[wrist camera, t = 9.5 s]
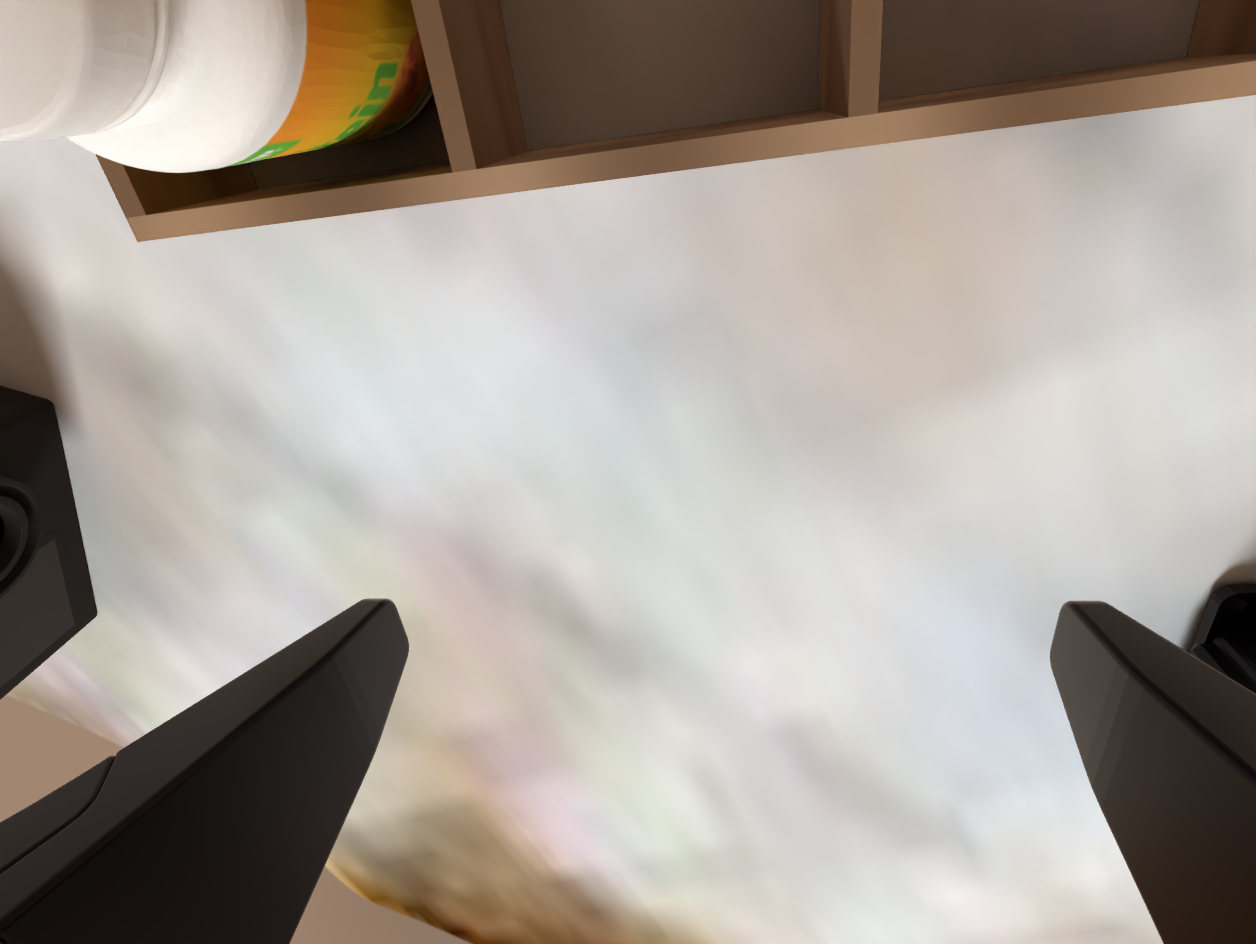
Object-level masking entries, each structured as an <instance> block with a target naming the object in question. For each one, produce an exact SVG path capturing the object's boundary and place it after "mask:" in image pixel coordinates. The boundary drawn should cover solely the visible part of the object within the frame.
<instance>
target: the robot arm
mask: <svg viewBox="0 0 1256 944" xmlns="http://www.w3.org/2000/svg"><path fill="white" fill-rule="evenodd" d="M408 652H409V642H408V638H407V635H406V632H405V630H404V627H403V624H402V621H401V619H400V616H399V613H398V611H397V608H396V606H395V604H394V603H393V602H392V601H391V600H389V599H364V600H361V601H359V602H358V603H356V604H354V605H353V606H351V607H350V608H348V609H346V610H345V611H343V612H342V613H340V614H338V615H337V616H335V617H334V618H332V619H330V620H329V621H327V622H326V623H324V624H322V625H321V626H319V627H318V628H316V629H314V630H313V631H311V632H310V633H308V634H306V635H305V636H303V637H301V638H300V639H298V640H297V641H295V642H293V643H292V644H290V645H289V646H287V647H285V648H284V649H282V650H281V651H279V652H277V653H276V654H274V655H273V656H271V657H269V658H268V659H266V660H265V661H263V662H261V663H260V664H258V665H256V666H255V667H253V668H252V669H250V670H248V671H247V672H245V673H244V674H242V675H240V676H239V677H237V678H236V679H234V680H232V681H231V682H229V683H228V684H226V685H224V686H223V687H221V688H220V689H218V690H216V691H215V692H213V693H212V694H210V695H208V696H207V697H205V698H203V699H202V700H200V701H199V702H197V703H195V704H194V705H192V706H191V707H189V708H187V709H186V710H184V711H183V712H181V713H179V714H178V715H176V716H175V717H173V718H171V719H170V720H168V721H167V722H165V723H163V724H162V725H160V726H159V727H157V728H155V729H154V730H152V731H150V732H149V733H147V734H146V735H144V736H142V737H141V738H139V739H138V740H136V741H134V742H133V743H131V744H130V745H128V746H126V747H125V748H123V749H122V750H120V751H119V752H118V753H117V754H116V756H110V757H108V758H107V759H105V760H104V761H102V762H101V763H99V764H97V765H96V766H94V767H92V768H91V769H89V770H88V771H86V772H84V773H83V774H81V775H80V776H78V777H77V778H75V779H73V780H72V781H70V782H68V783H66V784H65V785H63V786H62V787H60V788H58V789H57V790H55V791H53V792H52V793H50V794H48V795H47V796H46V797H43V798H42V799H40V800H39V801H37V802H35V803H33V804H32V805H30V806H28V807H27V808H25V809H23V810H21V811H20V812H18V813H16V814H15V815H13V816H11V817H9V818H8V819H6V820H4V821H2V822H0V944H290V942H291V939H292V937H293V935H294V933H295V931H296V928H297V926H298V924H299V922H300V919H301V917H302V915H303V913H304V911H305V908H306V906H307V904H308V902H309V899H310V897H311V895H312V893H313V890H314V888H315V886H316V884H317V881H318V879H319V877H320V875H321V873H322V870H323V868H324V866H325V864H326V862H327V859H328V857H329V855H330V853H331V850H332V848H333V846H334V844H335V842H336V839H337V837H338V835H339V833H340V830H341V828H342V826H343V824H344V822H345V819H346V817H347V815H348V813H349V810H350V808H351V806H352V804H353V802H354V799H355V797H356V795H357V793H358V790H359V788H360V786H361V784H362V781H363V779H364V777H365V775H366V773H367V770H368V768H369V766H370V763H371V761H372V759H373V756H374V754H375V752H376V749H377V746H378V744H379V741H380V738H381V735H382V732H383V729H384V726H385V723H386V720H387V717H388V714H389V711H390V708H391V705H392V702H393V699H394V696H395V693H396V690H397V687H398V684H399V681H400V678H401V675H402V672H403V669H404V666H405V663H406V660H407V657H408ZM1050 663H1051V668H1052V671H1053V675H1054V678H1055V681H1056V684H1057V687H1058V690H1059V693H1060V696H1061V699H1062V702H1063V705H1064V708H1065V711H1066V714H1067V717H1068V720H1069V723H1070V726H1071V729H1072V732H1073V735H1074V738H1075V741H1076V744H1077V747H1078V750H1079V753H1080V756H1081V759H1082V762H1083V765H1084V767H1085V770H1086V773H1087V776H1088V778H1089V781H1090V784H1091V787H1092V789H1093V791H1094V794H1095V796H1096V798H1097V801H1098V803H1099V805H1100V808H1101V810H1102V812H1103V814H1104V816H1105V818H1106V821H1107V823H1108V825H1109V827H1110V829H1111V831H1112V833H1113V836H1114V838H1115V840H1116V842H1117V844H1118V846H1119V849H1120V851H1121V853H1122V855H1123V857H1124V859H1125V861H1126V864H1127V866H1128V868H1129V870H1130V872H1131V874H1132V877H1133V879H1134V881H1135V883H1136V885H1137V887H1138V889H1139V892H1140V894H1141V896H1142V898H1143V900H1144V902H1145V905H1146V907H1147V909H1148V911H1149V913H1150V915H1151V917H1152V920H1153V922H1154V924H1155V926H1156V928H1157V930H1158V933H1159V935H1160V937H1161V939H1162V941H1163V943H1164V944H1256V583H1255V584H1231V585H1226V586H1224V587H1221V588H1219V589H1218V590H1216V591H1215V592H1214V593H1213V595H1212V596H1211V598H1210V601H1209V603H1208V606H1207V608H1206V611H1205V613H1204V616H1203V618H1202V621H1201V624H1200V626H1199V629H1198V631H1197V634H1196V636H1195V639H1194V641H1193V644H1192V647H1191V649H1190V652H1189V653H1188V652H1186V651H1185V650H1183V649H1181V648H1180V647H1178V646H1176V645H1175V644H1173V643H1172V642H1170V641H1168V640H1167V639H1165V638H1163V637H1162V636H1160V635H1158V634H1157V633H1155V632H1154V631H1152V630H1150V629H1149V628H1147V627H1145V626H1144V625H1142V624H1140V623H1139V622H1137V621H1135V620H1134V619H1132V618H1131V617H1129V616H1127V615H1126V614H1124V613H1122V612H1121V611H1119V610H1117V609H1116V608H1114V607H1113V606H1111V605H1109V604H1107V603H1105V602H1102V601H1069V602H1066V603H1065V604H1064V605H1063V606H1062V608H1061V610H1060V613H1059V617H1058V621H1057V625H1056V629H1055V633H1054V637H1053V641H1052V645H1051V650H1050Z"/></svg>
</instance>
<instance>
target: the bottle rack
mask: <svg viewBox="0 0 1256 944" xmlns="http://www.w3.org/2000/svg"><path fill="white" fill-rule="evenodd" d="M411 3H412V7H413V11H414V15H415V19H416V24H417V28H418V32H419V36H420V40H421V44H422V48H423V53H424V57H425V61H426V65H427V69H428V73H429V77H430V82H431V86H432V90H433V94H434V98H435V102H436V106H437V111H438V115H439V119H440V123H441V127H442V131H443V135H444V140H445V144H446V148H447V152H448V156H449V160H450V162H446V163H439V164H432V165H425V166H418V167H411V168H404V169H397V170H390V171H383V172H376V173H369V174H362V175H355V176H348V177H341V178H334V179H327V180H320V181H313V182H306V183H299V184H292V185H285V186H278V187H271V188H263V189H257V187H256V185H255V182H254V179H253V177H252V174H251V171H250V169H249V166H248V163H243V164H238V165H233V166H228V167H223V168H219V169H210V170H204V171H196V172H186V173H169V172H158V171H151V170H145V169H139V168H135V167H131V166H127V165H124V164H121V163H118V162H115V161H112V160H109V159H107V158H104V157H102V156H99V155H97V154H96V156H97V158H98V160H99V162H100V164H101V167H102V169H103V171H104V173H105V175H106V177H107V179H108V181H109V183H110V185H111V187H112V190H113V192H114V194H115V196H116V198H117V200H118V202H119V204H120V206H121V208H122V210H123V212H124V215H125V217H126V219H127V221H128V223H129V225H130V227H131V229H132V231H133V233H134V235H135V237H136V240H137V242H141V241H148V240H156V239H164V238H171V237H179V236H186V235H194V234H202V233H209V232H217V231H224V230H232V229H239V228H247V227H255V226H262V225H270V224H277V223H285V222H293V221H300V220H308V219H315V218H323V217H331V216H338V215H346V214H353V213H361V212H369V211H376V210H384V209H391V208H399V207H407V206H414V205H422V204H429V203H437V202H445V201H452V200H460V199H467V198H475V197H483V196H490V195H498V194H505V193H513V192H521V191H528V190H536V189H543V188H551V187H559V186H566V185H574V184H581V183H589V182H597V181H604V180H612V179H619V178H627V177H635V176H642V175H650V174H657V173H665V172H673V171H680V170H688V169H695V168H703V167H710V166H718V165H726V164H733V163H741V162H748V161H756V160H764V159H771V158H779V157H786V156H794V155H802V154H809V153H817V152H824V151H832V150H840V149H847V148H855V147H862V146H870V145H878V144H885V143H893V142H900V141H908V140H916V139H923V138H931V137H938V136H946V135H954V134H961V133H969V132H976V131H984V130H992V129H999V128H1007V127H1014V126H1022V125H1030V124H1037V123H1045V122H1052V121H1060V120H1068V119H1075V118H1083V117H1090V116H1098V115H1105V114H1113V113H1121V112H1128V111H1136V110H1143V109H1151V108H1159V107H1166V106H1174V105H1181V104H1189V103H1197V102H1204V101H1212V100H1219V99H1227V98H1235V97H1242V96H1250V95H1256V0H1201V1H1200V5H1199V9H1198V13H1197V17H1196V21H1195V25H1194V30H1193V34H1192V38H1191V42H1190V46H1189V50H1188V54H1187V57H1185V58H1178V59H1171V60H1164V61H1157V62H1150V63H1143V64H1136V65H1129V66H1122V67H1115V68H1108V69H1101V70H1094V71H1087V72H1080V73H1073V74H1066V75H1059V76H1052V77H1045V78H1038V79H1031V80H1024V81H1016V82H1009V83H1002V84H995V85H988V86H981V87H974V88H967V89H960V90H953V91H946V92H939V93H932V94H925V95H918V96H911V97H904V98H897V99H890V100H883V101H879V80H880V59H881V38H882V17H883V0H820V83H819V110H812V111H805V112H798V113H791V114H784V115H777V116H770V117H763V118H756V119H749V120H742V121H735V122H728V123H721V124H714V125H707V126H700V127H693V128H686V129H679V130H672V131H665V132H658V133H651V134H643V135H636V136H629V137H622V138H615V139H608V140H601V141H594V142H587V143H580V144H573V145H566V146H559V147H552V148H545V149H538V150H531V151H527V148H526V142H525V137H524V132H523V126H522V121H521V116H520V110H519V105H518V100H517V94H516V89H515V84H514V78H513V73H512V68H511V62H510V57H509V52H508V46H507V41H506V36H505V30H504V25H503V20H502V14H501V9H500V4H499V0H411Z"/></svg>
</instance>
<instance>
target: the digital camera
mask: <svg viewBox="0 0 1256 944" xmlns="http://www.w3.org/2000/svg"><path fill="white" fill-rule="evenodd" d="M96 616H97V614H96V609H95V603H94V598H93V593H92V588H91V583H90V578H89V573H88V568H87V563H86V558H85V554H84V549H83V544H82V539H81V534H80V529H79V524H78V519H77V514H76V509H75V505H74V500H73V495H72V490H71V485H70V480H69V476H68V471H67V467H66V462H65V458H64V453H63V448H62V444H61V439H60V435H59V430H58V426H57V421H56V416H55V412H54V407H53V404H52V402H51V401H49V400H47V399H43V398H40V397H37V396H33V395H30V394H27V393H23V392H20V391H16V390H13V389H10V388H6V387H3V386H0V699H2V698H3V697H4V696H5V695H6V694H7V693H9V692H10V691H11V690H12V689H13V688H14V687H15V686H17V685H18V684H19V683H20V682H21V681H22V680H24V679H25V678H26V677H27V676H28V675H29V674H30V673H32V672H33V671H34V670H35V669H36V668H37V667H39V666H40V665H41V664H42V663H43V662H44V661H45V660H47V659H48V658H49V657H50V656H51V655H52V654H54V653H55V652H56V651H57V650H58V649H59V648H60V647H62V646H63V645H64V644H65V643H66V642H67V641H69V640H70V639H71V638H72V637H73V636H74V635H75V634H77V633H78V632H79V631H80V630H81V629H82V628H84V627H85V626H86V625H87V624H88V623H89V622H90V621H92V620H93V619H94V618H95V617H96Z"/></svg>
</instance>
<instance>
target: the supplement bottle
mask: <svg viewBox="0 0 1256 944" xmlns="http://www.w3.org/2000/svg"><path fill="white" fill-rule="evenodd" d="M432 94H433V90H432V86H431V82H430V77H429V73H428V69H427V65H426V61H425V57H424V53H423V48H422V44H421V40H420V36H419V32H418V28H417V24H416V19H415V15H414V11H413V7H412V3H411V0H0V141H14V140H27V139H48V138H62V137H66V138H68V139H69V140H71V141H72V142H74V143H76V144H78V145H80V146H82V147H83V148H85V149H86V150H88V151H91V152H93V153H95V154H97V155H99V156H102V157H104V158H107V159H109V160H112V161H115V162H118V163H121V164H124V165H127V166H131V167H135V168H139V169H145V170H151V171H158V172H169V173H186V172H196V171H204V170H210V169H219V168H223V167H228V166H233V165H238V164H243V163H248V162H253V161H258V160H263V159H269V158H275V157H280V156H286V155H291V154H296V153H301V152H307V151H312V150H318V149H325V148H330V147H336V146H341V145H347V144H353V143H358V142H364V141H369V140H373V139H377V138H380V137H383V136H386V135H388V134H390V133H392V132H394V131H396V130H398V129H400V128H402V127H403V126H405V125H406V124H408V123H409V122H410V121H411V120H412V119H413V118H415V117H416V116H417V114H418V113H419V112H420V111H421V110H422V109H423V107H424V106H425V104H426V103H427V102H428V100H429V99H430V97H431V95H432Z"/></svg>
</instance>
